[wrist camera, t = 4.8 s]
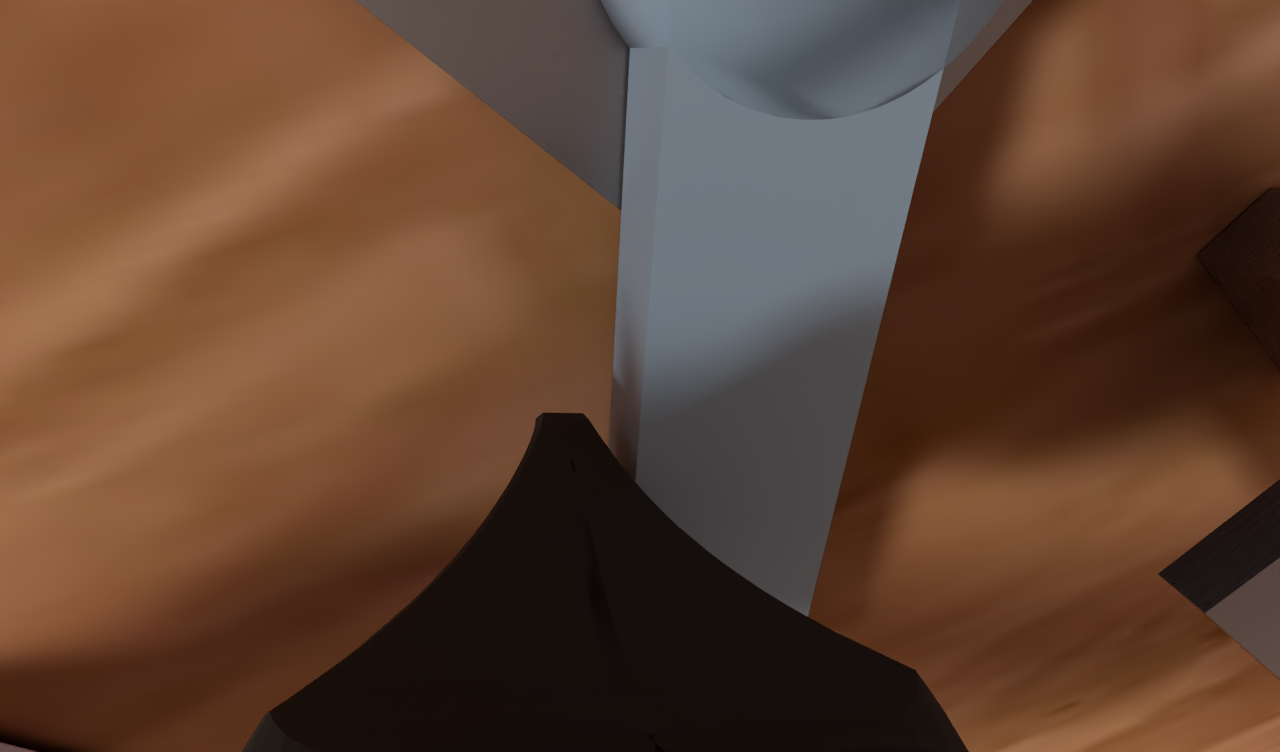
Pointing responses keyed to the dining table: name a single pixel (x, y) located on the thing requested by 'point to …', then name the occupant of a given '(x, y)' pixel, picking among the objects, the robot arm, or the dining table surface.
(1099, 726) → the dining table surface
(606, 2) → the link
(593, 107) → the grey flat square plate
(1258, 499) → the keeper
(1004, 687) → the dining table surface
